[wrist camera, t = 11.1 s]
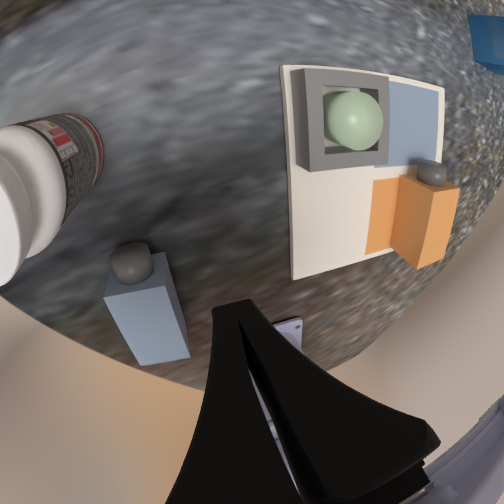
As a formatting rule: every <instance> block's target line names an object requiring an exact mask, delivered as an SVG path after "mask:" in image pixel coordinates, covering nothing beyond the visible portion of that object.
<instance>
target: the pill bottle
mask: <svg viewBox="0 0 504 504" xmlns="http://www.w3.org/2000/svg"><path fill="white" fill-rule="evenodd" d="M102 162H103V150H102V144H101V140H100V138H99V135H98V133H97V132H96V130H95V128H94V127H93V126H92V125H91V124H90V123H89V122H88V121H87V120H85V119H84V118H82V117H80V116H78V115H74V114H56V115H51V116H47V117H42V118H37V119H33V120H28V121H24V122H20V123H16V124H12V125H8V126H6V127H3V128H1V129H0V286H1V285H4V284H5V283H7V282H8V281H9V280H10V279H11V278H12V277H13V276H14V274H15V273H16V271H17V270H18V269H19V267H20V266H21V264H22V263H23V261H24V260H25V258H28V257H31V256H33V255H36V254H37V253H39V252H41V251H42V250H43V249H44V248H46V247H47V246H48V244H49V243H50V242H51V241H52V240H53V238H54V237H55V236H56V234H57V233H58V232H59V230H60V229H61V227H62V226H63V224H64V223H65V222H66V220H67V219H68V218H69V216H70V215H71V214H72V212H73V211H74V210H75V208H76V207H77V206H78V205H79V203H80V202H81V201H82V200H83V199H84V197H85V196H86V195H87V194H88V192H89V191H90V190H91V189H92V187H93V186H94V185H95V183H96V181H97V179H98V177H99V174H100V172H101V168H102Z"/></svg>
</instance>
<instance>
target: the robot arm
mask: <svg viewBox="0 0 504 504" xmlns="http://www.w3.org/2000/svg"><path fill="white" fill-rule="evenodd" d="M212 316H213V337H212V349H211V358H210V366H209V371H208V377H207V383H206V389H205V393H204V398H203V402H202V406H201V410H200V414H199V418H198V421H197V425H196V428H195V431H194V435H193V438H192V441H191V444H190V447H189V449H188V452H187V454H186V457H185V460H184V462H183V465H182V467H181V470H180V473H179V475H178V477H177V480H176V482H175V484H174V486H173V488H172V490H171V492H170V494H169V496H168V498H167V501H166V503H165V504H496V502H497V501H498V499H499V498H500V496H501V495H502V493H503V492H504V395H503V396H502V397H501V398H499V399H498V400H497V401H496V402H495V403H494V404H493V405H492V406H491V407H490V408H489V409H488V410H487V411H486V412H485V413H484V414H483V415H482V416H481V417H480V418H479V422H478V423H477V424H476V425H475V426H474V427H473V428H472V429H471V430H470V431H469V432H468V433H466V434H465V435H464V436H463V437H462V438H461V439H460V440H459V441H458V442H457V443H455V444H454V445H453V446H452V447H451V448H449V449H448V450H447V451H446V452H445V453H443V454H442V455H441V456H440V457H438V458H437V459H436V460H435V461H433V462H432V463H431V464H429V465H428V466H427V467H425V468H424V469H423V468H422V466H423V465H425V462H424V461H423V459H424V458H425V457H426V456H428V455H429V454H430V453H432V452H433V451H434V450H435V449H437V448H438V447H439V446H440V443H441V441H440V440H439V438H438V436H437V435H436V433H435V432H434V430H433V429H432V428H431V427H430V426H429V425H428V424H427V422H426V421H425V420H423V419H420V418H417V417H414V416H411V415H408V414H405V413H403V412H400V411H398V410H395V409H393V408H390V407H388V406H385V405H383V404H381V403H379V402H377V401H375V400H372V399H371V398H369V397H367V396H365V395H363V394H361V393H360V392H358V391H356V390H354V389H352V388H351V387H349V386H347V385H345V384H344V383H342V382H341V381H339V380H338V379H336V378H334V377H333V376H331V375H330V374H329V373H327V372H326V371H324V370H323V369H322V368H320V367H319V366H317V365H316V364H315V363H314V362H312V361H311V360H310V359H309V358H307V357H306V356H305V354H304V353H303V351H302V349H301V342H302V324H303V321H302V319H301V318H299V317H298V318H294V319H290V320H287V321H284V322H280V323H277V324H273V325H272V324H271V323H270V322H269V320H268V319H267V318H266V317H265V316H264V315H263V314H262V312H261V311H260V310H259V309H258V307H257V306H256V305H255V303H254V302H253V300H251V299H246V300H242V301H238V302H234V303H230V304H226V305H221V306H217V307H214V308H213V309H212ZM424 488H425V491H422V492H420V491H421V490H423V489H424ZM418 492H420V493H418ZM417 493H418V494H417Z"/></svg>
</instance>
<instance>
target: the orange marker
mask: <svg viewBox="0 0 504 504" xmlns="http://www.w3.org/2000/svg"><path fill="white" fill-rule="evenodd" d="M446 171H447V167H446V166H445V165H443V164H441V163H439V162H436V161H432V160H425V159H420V160H418V168H417V173H413V174H403V175H399V184H398V193H397V201H396V209H395V216H394V222H393V228H392V234H391V240H390V245H389V246H390V247H391V248H392V249H393V250H394V251H396V252H397V253H398V254H399V255H400V256H401V257H403V258H404V259H405V260H406V261H407V262H408V263H410V264H411V265H412V266H413V267H414V268H415V269H416V270H417V269H419V268H421V267H424V266H426V265H429V264H431V263H433V262H436V261H438V260H440V259H442V258H443V257H444V253H445V250H446V247H447V243H448V240H449V236H450V232H451V228H452V224H453V220H454V216H455V211H456V207H457V202H458V197H459V192H460V188H459V187H457V186H455V185H453V184H451V183H449V182H447V181H445V179H446Z"/></svg>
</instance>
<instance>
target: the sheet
mask: <svg viewBox="0 0 504 504" xmlns="http://www.w3.org/2000/svg"><path fill="white" fill-rule="evenodd" d="M279 67H280V78H281V89H282V100H283V113H284V127H285V141H286V158H287V176H288V198H289V225H290V268H291V277H292V279H293V280H296V279H300V278H304V277H307V276H311V275H314V274H318V273H322V272H325V271H329V270H332V269H335V268H339V267H342V266H346V265H349V264H352V263H356V262H359V261H362V260H366V259H369V258H372V257H376V256H379V255H382V254H385V253H388V252H391V251H394V250H393V249H392V248H391V247H390V246H389V245H390V240H391V234H392V228H393V222H394V216H395V209H396V201H397V193H398V184H399V175H403V174H413V173H417V168H418V160H420V159H425V160H432V161H436V162H439V163H441V156H442V145H443V131H444V88H442V87H438V86H435V85H431V84H428V83H424V82H420V81H416V80H412V79H408V78H403V77H398V76H393V75H388V74H383V73H377V72H371V71H364V70H357V69H348V68H338V67H327V66H309V65H281V66H279ZM302 68H314V69H331V70H342V71H352V72H360V73H368V74H374V75H381V76H386V77H389V94H390V132H389V156H388V164H386V165H373V166H362V167H352V168H343V169H334V170H326V171H318V172H308V171H307V170H305V169H303V168H301V167H300V166H298V165H296V153H295V134H294V118H293V104H292V91H291V79H290V71H292V70H297V69H302ZM336 91H352V92H360V88H349V87H332V86H322V96H323V100H324V98H325V97H326V96H328V95H329V94H331V93H333V92H336ZM331 146H343V145H340V144H337V143H334V142H332V141H330V140H329V139H327V138H326V137H325V135H324V147H331Z"/></svg>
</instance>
